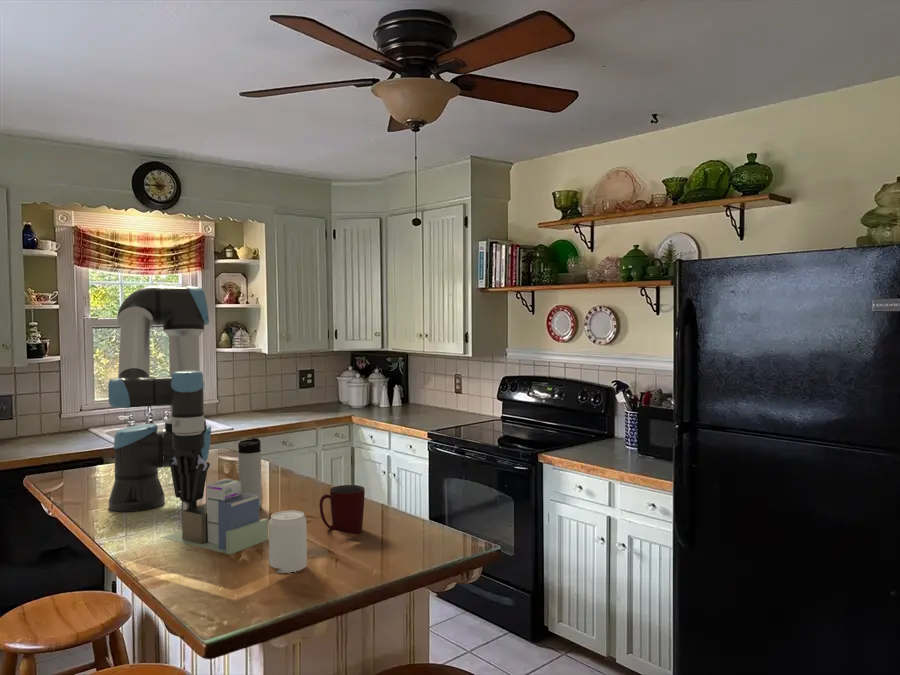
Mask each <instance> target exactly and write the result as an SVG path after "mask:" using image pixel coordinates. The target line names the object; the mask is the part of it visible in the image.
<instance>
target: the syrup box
mask: <svg viewBox="0 0 900 675" xmlns="http://www.w3.org/2000/svg"><path fill="white" fill-rule="evenodd" d="M239 495H241V481H239V479H238V480H237V479H232V478H222V479H220V480H216V481H213V482H208V483H206V503H207V522H208V542H210V543H213V544H218V545H219V526H218V502H219V501H223V500H226V499H229V498H233V497H236V496H239Z"/></svg>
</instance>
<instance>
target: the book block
mask: <svg viewBox="0 0 900 675" xmlns="http://www.w3.org/2000/svg"><path fill="white" fill-rule="evenodd" d="M258 520H260V509H259V495H254V494H248V493H246V494H242V495H239V496H236V497H233V498H229V499H226V500H223V501H219V502H218V526H219V549H223V550H226V532H227V531H230V530H232V529H235V528H238V527H241V526H244V525H247V524H250V523H253V522H256V521H258Z"/></svg>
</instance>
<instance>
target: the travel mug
mask: <svg viewBox="0 0 900 675" xmlns="http://www.w3.org/2000/svg"><path fill="white" fill-rule="evenodd" d="M261 442H262V441H261V440H260V439H259V438H258V437H252V438H250V439H244V440H243V439H242V440H241V441H239V442H238V443H237V444H238V445H237V446H238V452H237V453H238V455H237V458H238V460H237V462H238V466H237V468H238V470H237V472H238V480H239V481H241V495H242V494H246V493H248V494H254V495H259V510H261V509H262V506H263V505H262V454H261V453H262V451H261V450H262V449H261V447H262V446H261Z"/></svg>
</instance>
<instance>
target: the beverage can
mask: <svg viewBox="0 0 900 675" xmlns="http://www.w3.org/2000/svg"><path fill="white" fill-rule="evenodd" d="M307 544H308V543H307V518H306V517H305V513H304V512H303V511H301V510H282V511H277V512H274V513H272V514H271V515H270V519H268V563H269V566H270V567H271V568H275V569H277V570H275V571H274V573H276V572H278V573H277V574H280V573H290V574H292V573H291V572H295V573H297V572H296V571H298V572H300V571H301V570H303V569H304V568H306V567H307V565H308V557H307V556H308V552H307V551H308V549H307V547H308V546H307ZM299 570H300V571H299Z"/></svg>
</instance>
